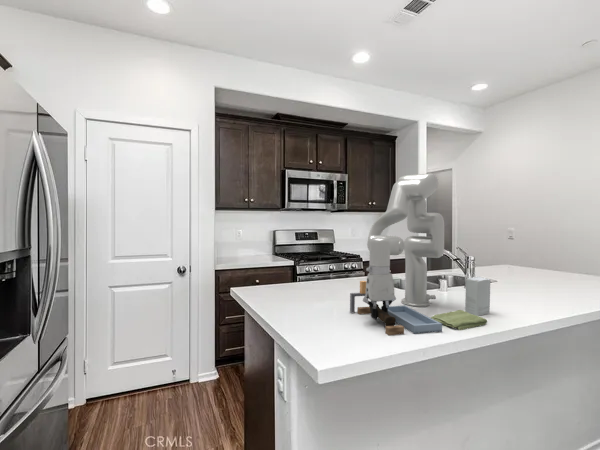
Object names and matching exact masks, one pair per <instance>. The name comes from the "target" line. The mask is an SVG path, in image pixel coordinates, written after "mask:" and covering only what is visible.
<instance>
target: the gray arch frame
mask: <svg viewBox="0 0 600 450" xmlns="http://www.w3.org/2000/svg"><path fill="white" fill-rule="evenodd" d="M366 281H367V280H359V292H350V293H349V297H350V298H349V312H350V313H352V314H354V313H356V312H355V309H356V308H355V307H356V306H355V304H356V297H364V296H365V294H366Z"/></svg>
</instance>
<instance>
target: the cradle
mask: <svg viewBox="0 0 600 450" xmlns="http://www.w3.org/2000/svg"><path fill="white" fill-rule="evenodd" d="M357 314H358V315H371V312H370V307H369V306H358V307H357ZM384 326H385V325H384ZM384 330H385V331H384V332H385V334H386V335H387V336H394V335H405V328H404V327H403V326H402V325H399V324H398V325H396V324H395V325H394V326H385V327H384Z"/></svg>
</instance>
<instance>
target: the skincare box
mask: <svg viewBox="0 0 600 450" xmlns="http://www.w3.org/2000/svg"><path fill="white" fill-rule="evenodd" d="M464 301H465V307H464V311H465V312H468V313H469V314H472V315H476V316H479V317H480V316H482V315H483V316H484V315H487V314H490V310H491V308H490V306H491V305H490V303H491V279H490V278H487V277H481V276H475V277H474V276H473V277H470V278H469V277H468V278H465V300H464Z"/></svg>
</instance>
